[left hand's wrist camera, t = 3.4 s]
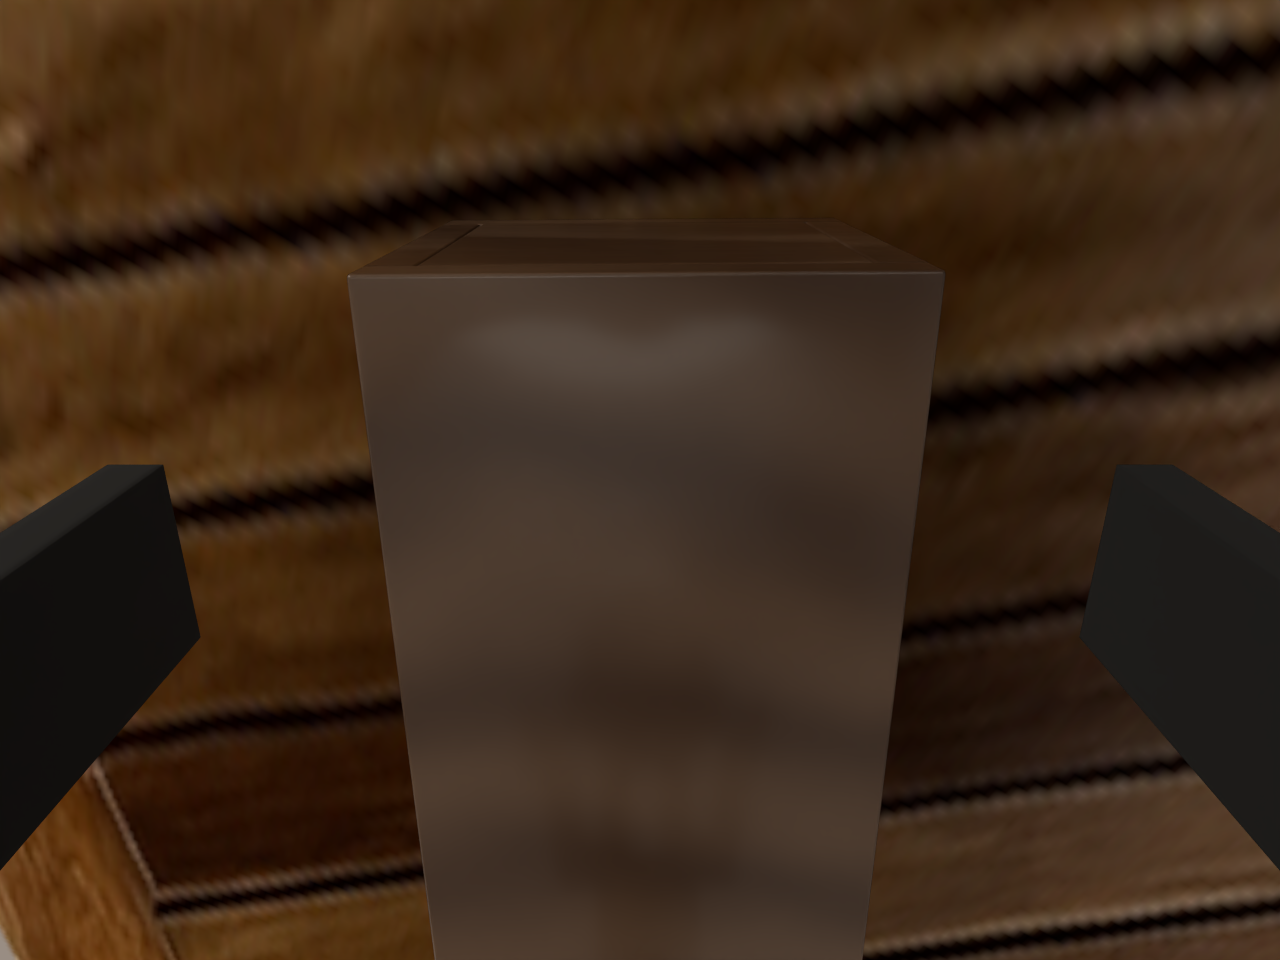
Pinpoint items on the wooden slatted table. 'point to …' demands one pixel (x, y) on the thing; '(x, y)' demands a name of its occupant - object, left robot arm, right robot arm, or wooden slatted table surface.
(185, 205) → the wooden slatted table surface
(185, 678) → the wooden slatted table surface
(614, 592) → the cabinet
